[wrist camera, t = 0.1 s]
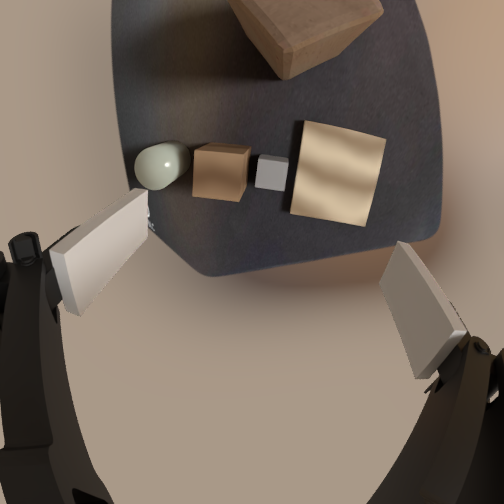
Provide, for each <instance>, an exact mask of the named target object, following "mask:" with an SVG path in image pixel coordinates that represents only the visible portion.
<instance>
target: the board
mask: <svg viewBox="0 0 504 504" xmlns="http://www.w3.org/2000/svg"><path fill="white" fill-rule="evenodd" d="M385 142H386V139H383V138H380V137H376V136H373V135H369V134H365V133H361V132H357V131H353V130H349V129H345V128H341V127H336V126H331V125H327V124H322V123H317V122H311V121H306V120H304V126H303V133H302V139H301V146H300V152H299V159H298V165H297V171H296V177H295V183H294V189H293V195H292V201H291V207H290V214H296V215H302V216H308V217H314V218H320V219H326V220H332V221H337V222H343V223H348V224H354V225H359V226H364V227H365V224H366V221H367V217H368V214H369V210H370V206H371V203H372V199H373V195H374V191H375V187H376V183H377V179H378V175H379V171H380V166H381V162H382V157H383V152H384V147H385Z"/></svg>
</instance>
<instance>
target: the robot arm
mask: <svg viewBox="0 0 504 504" xmlns="http://www.w3.org/2000/svg"><path fill="white" fill-rule="evenodd" d="M147 238H148V190H144V189H137V188H135V189H133V190H132V191H130V192H128V193H127V194H125V195H124V196H122V197H121V198H119V199H118V200H116V201H115V202H113V203H112V204H110V205H109V206H107V207H106V208H104V209H103V210H101V211H100V212H99V213H97V214H96V215H94V216H93V217H91V218H90V219H89V220H88V221H86V222H85V223H83V224H82V225H79V226H77V227H75V228H73V229H71V230H70V231H69V232H67V233H66V234H65V235H63V236H62V237H61V238H60V239H59V240H57V241H56V242H54V243H53V244H52V245H51V246H49V247H48V248H47V249H46V250H44V251H43V252H42V251H41V247H40V242H39V237H38V234H37V233H35V232H24V233H21V234H19V235H17V236H15V237H13V238H12V239H11V240H10V242H9V243H8V246H9V249H10V253H11V257H12V260H13V263H10V262H6V260H5V257H4V254H3V252H2V251H0V404H1V416H2V425H3V432H4V439H5V445H4V448H2V449H0V483H1V486H2V490H3V493H4V497H5V500H6V503H7V504H114V502H113V500H112V498H111V496H110V495H109V492H108V491H107V489H106V487H105V485H104V484H103V482H102V481H101V479H100V478H99V477H98V475H97V474H96V472H95V470H94V468H93V465H92V463H91V460H90V458H89V455H88V452H87V449H86V446H85V443H84V440H83V437H82V434H81V431H80V427H79V424H78V420H77V417H76V413H75V409H74V405H73V401H72V396H71V392H70V387H69V382H68V377H67V372H66V365H65V359H64V352H63V344H62V335H61V326H60V312H59V309H58V306H57V305H58V304H59V303H60V301H61V300H63V303H64V306H65V309H66V311H68V312H70V313H73V314H75V315H77V316H81V315H82V314H83V313H84V311H85V310H86V309H87V308H88V306H89V305H90V304H91V302H92V301H93V300H94V299H95V297H96V296H97V295H98V294H99V293H100V291H101V290H102V289H103V287H105V285H106V284H107V283H108V282H109V280H110V279H111V278H112V277H113V276H114V275H115V273H116V272H117V271H118V270H119V269H120V268H121V267H122V265H123V264H124V263H125V262H126V261H127V260H128V259H129V258H130V256H131V255H132V254H133V253H134V252H135V251H136V250H137V249H138V248H139V246H140V245H141V244H142V243H143V242H144V241H145V240H146V239H147ZM379 285H380V287H381V290H382V292H383V294H384V297H385V299H386V301H387V303H388V306H389V309H390V311H391V313H392V316H393V318H394V321H395V323H396V326H397V329H398V331H399V334H400V337H401V339H402V342H403V344H404V347H405V350H406V353H407V356H408V359H409V362H410V365H411V368H412V371H413V374H414V377H415V379H429V378H430V377H431V375H432V374H433V373H434V372H435V371H436V370H438V373H439V377H438V378H437V379H436V380H435V381H434V382H433V383H432V384H431V385H430V386H429V387H428V388H427V389H426V390H425V392H424V393H427V392H428V391H430V390H431V391H430V394H429V397H428V399H427V401H426V403H425V406H424V408H423V410H422V412H421V414H420V416H419V419H418V421H417V423H416V425H415V427H414V429H413V431H412V433H411V435H410V437H409V439H408V440H407V442H406V444H405V446H404V448H403V450H402V451H401V453H400V455H399V456H398V458H397V460H396V461H395V463H394V465H393V466H392V468H391V470H390V471H389V473H388V474H387V476H386V477H385V479H384V480H383V482H382V483H381V485H380V486H379V488H378V489H377V490H376V492H375V493H374V494H373V496H372V497H371V499H370V500H369V501H368V502H367V504H504V348H503V349H502V350H501V351H500V353H499V354H498V355H497V356H495V355H493V354H491V351H490V348H489V346H488V345H487V344H486V343H485V342H484V341H483V340H482V339H481V338H479V337H476V336H473V337H471V335H470V334H469V332H468V330H467V328H466V326H465V325H464V323H463V321H462V320H461V318H459V315H458V313H457V312H456V310H455V308H454V306H453V305H452V303H451V302H450V301H449V300H448V298H447V297H446V295H445V294H444V292H443V291H442V290H441V288H440V286H439V285H438V283H437V282H436V280H435V279H434V277H433V276H432V275H431V273H430V272H429V270H428V269H427V268H426V266H425V265H424V263H423V262H422V261H421V259H420V258H419V257H418V255H417V254H416V253H415V251H414V250H413V249H412V247H411V246H410V245H409V244H407V243H403V242H399V241H397V244H396V246H395V249H394V251H393V253H392V256H391V258H390V260H389V263H388V265H387V267H386V269H385V271H384V274H383V276H382V278H381V280H380V282H379ZM498 390H499V395H498V397H497V398H496V399H495V400H494V401H492V402H491V403H490V397H492V396H493V395H494V394H495V393H496V392H497V391H498Z"/></svg>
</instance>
